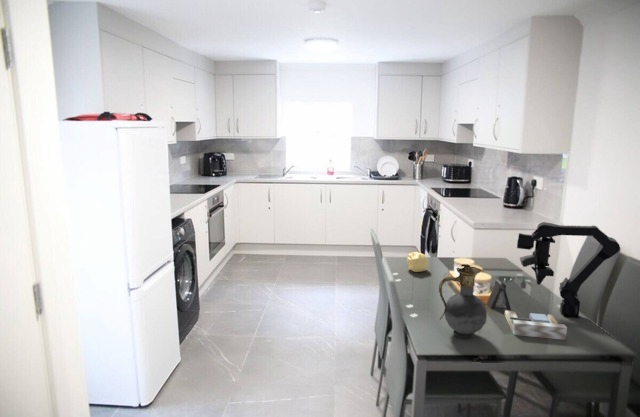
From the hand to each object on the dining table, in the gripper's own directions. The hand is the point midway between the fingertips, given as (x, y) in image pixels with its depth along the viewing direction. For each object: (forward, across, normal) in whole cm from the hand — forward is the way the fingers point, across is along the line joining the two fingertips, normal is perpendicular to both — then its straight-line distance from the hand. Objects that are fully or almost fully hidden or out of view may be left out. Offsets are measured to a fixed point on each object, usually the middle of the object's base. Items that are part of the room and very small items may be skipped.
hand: (538, 284), depth 194 cm
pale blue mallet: (+12, +20, -8) cm, 25 cm away
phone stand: (+12, 0, -16) cm, 20 cm away
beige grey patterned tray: (+12, +19, -5) cm, 23 cm away
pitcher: (+12, +33, -36) cm, 50 cm away
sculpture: (+12, -42, -53) cm, 69 cm away
